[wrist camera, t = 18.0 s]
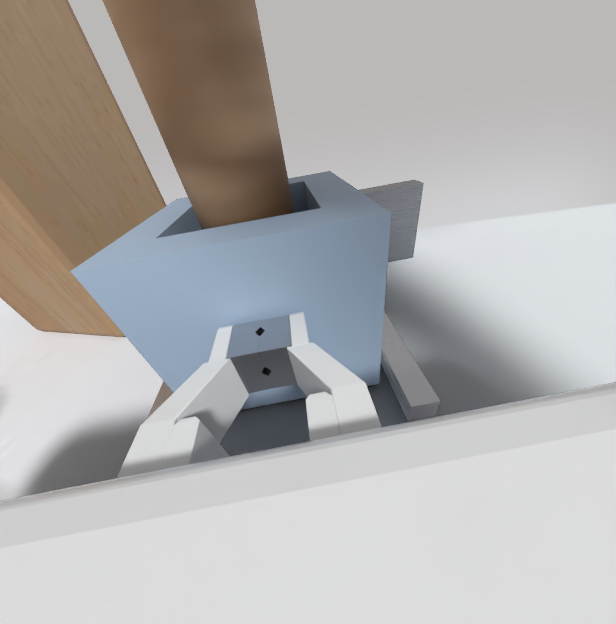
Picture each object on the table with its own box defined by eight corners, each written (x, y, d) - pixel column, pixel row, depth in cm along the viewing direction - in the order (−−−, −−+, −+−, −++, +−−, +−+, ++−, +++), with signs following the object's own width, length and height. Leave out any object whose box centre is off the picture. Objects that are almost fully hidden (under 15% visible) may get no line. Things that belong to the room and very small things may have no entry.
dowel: (308, 288, 15) (199, -298, 5) (315, 329, 12) (88, -901, 2) (247, 299, 15) (31, -258, 5) (239, 343, 12) (-305, -784, 2)
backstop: (405, 250, 22) (413, 179, 19) (564, 392, 10) (677, 267, 7) (198, 288, 22) (166, 225, 19) (106, 478, 10) (-41, 401, 6)
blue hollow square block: (338, 287, 19) (329, 171, 14) (379, 383, 11) (391, 212, 7) (225, 308, 19) (176, 199, 14) (195, 418, 11) (70, 271, 7)
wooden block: (129, 274, 28) (-55, 7, 16) (201, 272, 25) (48, -48, 13) (37, 332, 20) (-453, -91, 8) (126, 340, 18) (-400, -269, 5)
